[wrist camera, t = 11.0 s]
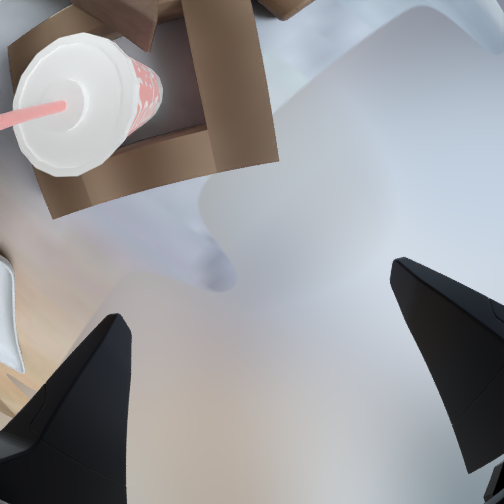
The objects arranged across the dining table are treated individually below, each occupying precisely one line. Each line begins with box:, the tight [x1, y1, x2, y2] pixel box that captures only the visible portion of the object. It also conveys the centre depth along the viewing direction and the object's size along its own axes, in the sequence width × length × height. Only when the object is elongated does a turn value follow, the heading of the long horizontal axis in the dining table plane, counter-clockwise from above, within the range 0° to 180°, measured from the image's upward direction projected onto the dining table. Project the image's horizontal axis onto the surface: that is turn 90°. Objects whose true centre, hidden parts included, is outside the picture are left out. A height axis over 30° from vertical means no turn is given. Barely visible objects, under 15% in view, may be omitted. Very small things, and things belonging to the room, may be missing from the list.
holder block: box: [8, 0, 279, 219], centre depth 13 cm, size 15×13×4 cm
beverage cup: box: [0, 32, 163, 177], centre depth 10 cm, size 6×6×14 cm
